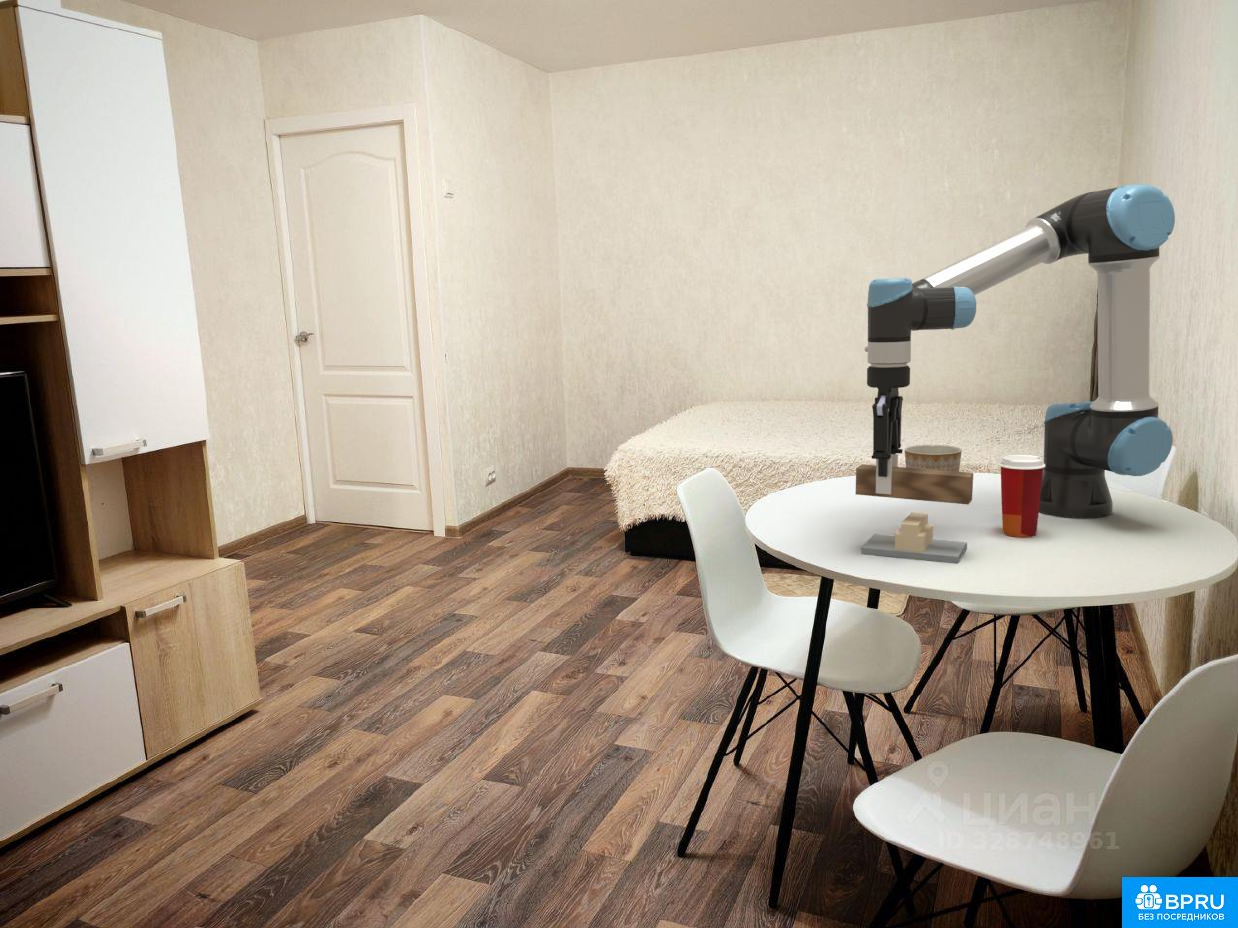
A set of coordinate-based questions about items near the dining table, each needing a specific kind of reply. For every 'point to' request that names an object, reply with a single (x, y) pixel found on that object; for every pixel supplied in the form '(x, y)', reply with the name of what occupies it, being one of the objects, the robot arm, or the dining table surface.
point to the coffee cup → (1020, 494)
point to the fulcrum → (915, 543)
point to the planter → (933, 457)
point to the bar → (919, 484)
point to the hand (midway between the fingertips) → (886, 490)
